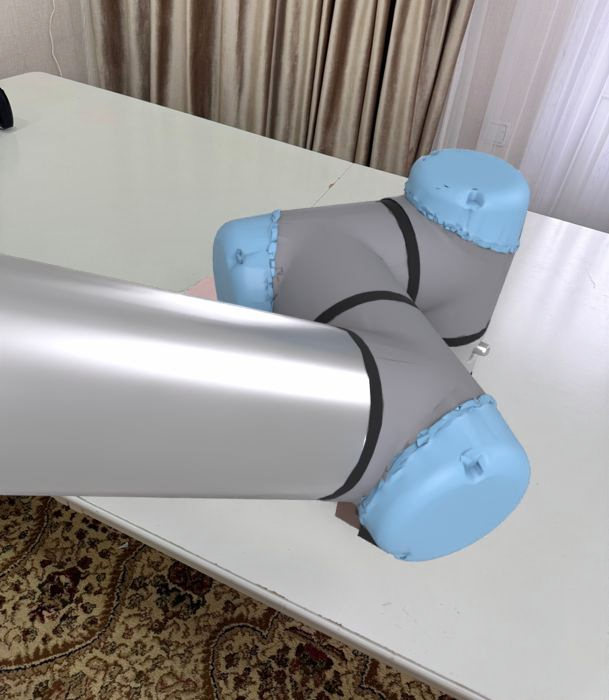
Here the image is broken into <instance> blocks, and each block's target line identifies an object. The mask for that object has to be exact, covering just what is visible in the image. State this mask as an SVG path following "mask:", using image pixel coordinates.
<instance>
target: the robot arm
mask: <svg viewBox="0 0 609 700" xmlns="http://www.w3.org/2000/svg"><path fill="white" fill-rule="evenodd" d="M403 192H404V193H403V194H401V195H400V194H399V195H397V196H388V197H383V198H381V199H378V200H367V201H366V200H365V201H357V202H348V203H340V204H329V205H322V206H321V205H319V206H311V207H302V208H293V209H284V210H282V208H281V209H274V210H272V212H267V213H263V214H257V215H252V216H247V217H242V218H237V219H231V220H229V221H226V222H225V223H223V224H222V225H221V226H220V227H219V229H218V230H217V231H216V234H215V236H214V239H213V243H212V273H213V277H214V282H215V288H216V294H217V299H218V301H217V300H212V299H208V298H203V297H199V296H194V295H189V294H185V292H180V291H175V290H172V289H171V290H170V289H166V288H161V287H156V286H152V285H148V284H144V283H138V282H134V281H129V280H125V279H119V278H116V277H112V276H111V277H110V276H106V275H102V274H97V273H92V272H89V271H84V270H78V269H73V268H69V267H65V266H60V265H56V264H52V263H51V264H50V263H47V262H42V261H37V260H33V259H27V258H24V257H18V256H15V255H9V254H5V253H0V496H33V497H34V496H39V497H40V496H41V497H43V496H44V497H91V498H93V497H94V498H95V497H97V498H99V497H100V498H101V497H102V498H151V499H153V498H154V499H155V498H156V499H157V498H158V499H161V498H162V499H210V500H211V499H215V500H216V499H217V500H219V499H220V500H221V499H222V500H223V499H224V500H270V501H271V500H273V501H274V500H279V501H321V502H329V503H333V502H352V503H353V504H355V505H356V506H355V512H354V515H356V516H358V517H359V520H360V522H361V523H360V528H359V530H358V532H357V537H359V538H361V539H363V540H364V541H366V542H368V543H369V544H371V545H373V546H374V547H377V548H378V549H380V550H382V551H383V552H385V553H386V554H390V555H392V556H393V558H395V559H396V560H399V561H403V562H407V563H408V562H410V563H411V562H413V563H418V562H419V563H420V562H427V561H433V560H436V559H439V558H444V557H446V556H450V555H452V554H454V553H457V552H459V551H461V550H463V549H466V548H468V547H470V546H471V545H473V544H475V543H476V542H478V541H479V540H481V539H482V538H485V537H486V536H487V535H489V534H490V533H491V532H493V531H494V530H495V529H497V527H499V526H500V525H501V524H502V523H503V522H504V521H505V520H506V519H507V518H508V517H509V516H510V515H511V514H512V513H513V512H514V511H515V509H517V508H518V506H519V504H520V503H521V502H522V500H523V498H524V497H525V495H526V492H527V491H528V488H529V485H530V482H531V481H530V480H531V476H532V471H531V469H532V468H531V463H530V459H529V457H528V454H527V452H526V450H525V448H524V447H523V445H522V444H521V442H520V441H519V439H518V438H517V437H516V435H515V433H514V432H513V430H512V428H511V427H510V426H509V424H508V422H507V420H506V419H505V418H504V416H503V415H502V414H501V412H500V410H499V409H498V403H497V400H496V399H495V398H494V397H493V395H492V394H491V395H490V394H489V393H486V392H485V390H484V389H483V388H482V386H481V385H480V384H479V383H478V382H477V380H476V379H475V378H474V376H473V370H474V369H475V365H476V362H477V359H478V358H479V357H478V356H481V357H486V356H488V355H489V354H490V351H491V346H490V344H489V343H487V342H484V341H483V340H484V339H485V336H486V334H487V331H488V328H489V325H490V323H491V321H492V318H493V315H494V312H495V310H496V307H497V303H498V301H499V299H500V296H501V293H502V289H503V288H504V285H505V282H506V279H507V276H508V274H509V271H510V268H511V266H512V263H513V259H514V258H515V254H516V253H517V252H518V250H519V249H520V246H521V238H522V237H521V236H522V233H523V229H524V226H525V223H526V218H527V214H528V210H529V206H530V200H531V189H530V184H529V182H528V181H527V179H526V177H525V176H524V175H523V173H522V171H520V170H518V169H517V168H516V167H514V166H512V164H511V163H509V162H508V161H506V160H505V159H502V158H500V157H497V156H496V155H492V154H490V153H488V152H487V153H486V152H483V151H479V150H474V149H468V148H467V149H466V148H441V149H435V150H433V151H431V152H429V154H428V155H423V156H421V157H419V158H418V159H417V160H416V161H414V163H413V165H412V166H411V168H410V171H409V175H408V178H407V180H406V181H405V183H404V188H403Z"/></svg>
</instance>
